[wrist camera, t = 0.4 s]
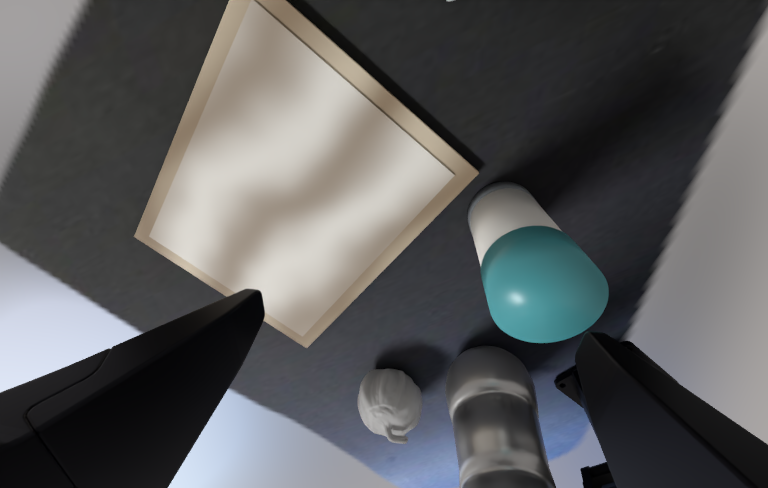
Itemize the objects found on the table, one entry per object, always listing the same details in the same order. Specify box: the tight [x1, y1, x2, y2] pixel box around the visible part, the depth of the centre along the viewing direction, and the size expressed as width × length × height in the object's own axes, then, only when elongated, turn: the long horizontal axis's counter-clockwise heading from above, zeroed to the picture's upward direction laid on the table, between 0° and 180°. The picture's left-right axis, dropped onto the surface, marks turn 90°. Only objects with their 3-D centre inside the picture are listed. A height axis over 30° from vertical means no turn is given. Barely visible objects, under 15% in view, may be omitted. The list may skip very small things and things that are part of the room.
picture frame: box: [134, 0, 479, 348], centre depth 21 cm, size 16×20×1 cm
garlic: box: [358, 368, 422, 444], centre depth 26 cm, size 6×5×5 cm
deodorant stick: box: [467, 182, 609, 343], centre depth 16 cm, size 4×4×9 cm
